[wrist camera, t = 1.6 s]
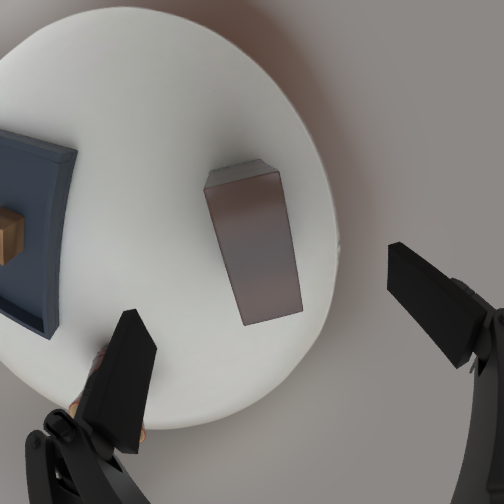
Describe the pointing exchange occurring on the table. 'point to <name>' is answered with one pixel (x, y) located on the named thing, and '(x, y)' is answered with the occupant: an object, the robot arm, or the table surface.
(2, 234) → the wooden cube
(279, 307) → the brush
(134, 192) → the table surface
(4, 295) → the tray
